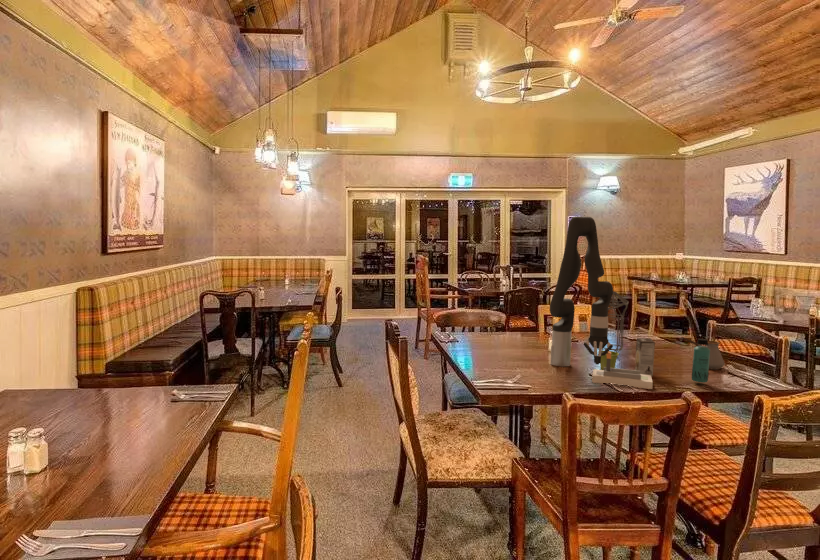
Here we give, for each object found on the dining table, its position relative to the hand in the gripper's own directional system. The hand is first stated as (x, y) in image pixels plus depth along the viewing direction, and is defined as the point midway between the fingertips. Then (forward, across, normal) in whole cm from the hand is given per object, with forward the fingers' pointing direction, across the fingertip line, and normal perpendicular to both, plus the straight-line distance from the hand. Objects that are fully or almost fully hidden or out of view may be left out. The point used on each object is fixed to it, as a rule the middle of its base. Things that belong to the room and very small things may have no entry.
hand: (597, 364), depth 228 cm
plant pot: (+7, +4, +19) cm, 21 cm away
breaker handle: (+4, +5, 0) cm, 6 cm away
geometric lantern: (+7, +5, +55) cm, 56 cm away
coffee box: (+7, +20, +21) cm, 30 cm away
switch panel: (+7, +10, 0) cm, 13 cm away
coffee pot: (+7, +47, +47) cm, 67 cm away
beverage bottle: (+7, +42, +12) cm, 45 cm away
